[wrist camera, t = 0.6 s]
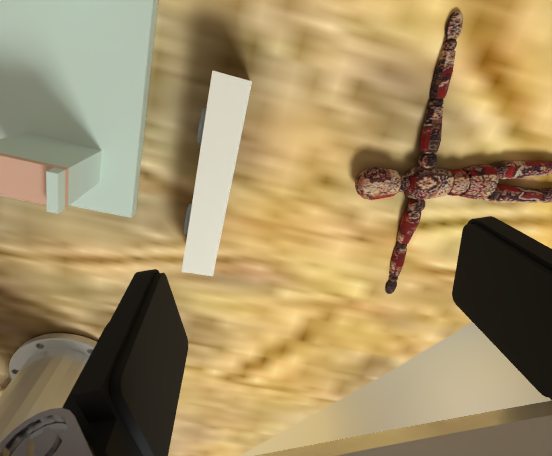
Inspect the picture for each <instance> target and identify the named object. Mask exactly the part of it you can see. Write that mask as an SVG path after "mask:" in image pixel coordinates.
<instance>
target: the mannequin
mask: <svg viewBox="0 0 552 456" xmlns="http://www.w3.org/2000/svg"><path fill="white" fill-rule="evenodd" d="M462 22H463V16H462V13H461V12H459V11H456V12H454V13H453V14H452V15H451V16H450V19H449V21H448V24H447V26H446V32H445V33H446V41H445V42H444V44H443V49H444V50H443V51H441V53H440V56H439V59H438V62H437V65H436V68H435V71H434V76H433V81H432V86H431V90H430V98H431V99H430V100H429V103H428V105H429V107H428V108H427V111H426V116H425V120H424V125H423V130H422V134H421V139H420V150H421V152H422V154H421V155H420V157H419V159H418V163H419V165H420V167H414V168H412V169H411V170H410V171H408V172H407V174H406V175H400V174H399V173H398V172H397V171H395V170H390V169H384V168H378V167H371V168H367V169H365V170H364V171H362V172H361V173H360V174H359V175H358V177H357V179H356V183H355V187H356V190H357V193H358V194H359V195H360V196H361V197H363V198H365V199H370V200H375V199H380V198H386V197H391V196H394V195H395V194H396V193H398V191H400V192H402V191H404V193H405V194H406V195H407V196H408V197H409V198H411V199H410V200H409V202H408V207H409V208H407V209H406V211H405V213H404V214H403V216H402V220H401V224H400V227H399V231H398V235H397V242H396V246H395V248H394V251H393V255H392V258H391V263H390V272H389V274H390V276H389V279H390V280H389V281H388V282H387V284H386V292H387V293H388V294H391V293H393V292H394V290H395V288H396V286H397V282H396V280H397V279H398V276H399V274H400V271H401V269H402V267H403V264H404V260H405V255H406V250H407V249H406V247H407V244H408V243H409V241H410V239H411V237H412V235H413V233H414V231H415V229H416V227H417V226H418V224H419V221H420V217H421V211H422V210H423V209H424V207H425V201H424V199H429V198H435V197H441V196H444V195H446V194H448V195H452V196H455V195H459V196H462V197H467V198H472V199H483V200H486V201H492V202H552V188H548V189H542V190H539V189H530V188H522V187H514V186H505V185H497V184H498V178H500V179H514V178H524V177H534V176H543V175H550V174H552V162H550V161H546V162H543V161H502V162H495V163H493V164H491V165H475V166H471V167H467V168H464V169H462V170H459V169H451V170H450V171H449V170H448V169H444V168H438V167H434V166H435V165H436V162H437V156H436V154H434V153H436V152H437V151H438V148H439V145H440V142H441V130H442V114H443V107H442V104H443V98H445V96H446V94H447V90H448V86H449V83H450V79H451V76H452V72H453V65H454V58H455V51H454V49H455V47H456V45H457V41H456V39H457V37H458V36H459V34H460V32H461V29H462Z"/></svg>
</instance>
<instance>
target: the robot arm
mask: <svg viewBox="0 0 552 456" xmlns="http://www.w3.org/2000/svg"><path fill="white" fill-rule="evenodd" d="M452 296H453V300H454V302H455V303H456V305H457V306H458V307H459V308H460V309H461V310H462V311H463V312H464V313H465V314H466V315H467V316H468V317H469V319H470V320H471V321H472V322H473V323H475V325H476V326H477V327H478V328H479V329H480V330H481V331H482V332H483V333H484V334H485V335H486V336H487V337H488V338H489V340H490V341H491V342H492V343H493V344H494V345H495V346H496V347H497V348H498V349H499V350H500V351H501V352H502V353H503V354H504V355H505V356H506V357H507V358H508V360H509V361H510V362H511V363H512V364H513V365H514V366H515V367H516V368H517V369H518V370H519V371H520V372H521V373H522V374H523V375H524V376H525V377H526V379H528V381H529V382H530V383H531V384H532V385H533V386H534V387H535V388H536V389H537V390H538V391H539V392H540V393H541V394H542V395H544V396H546V397H549V398H550V399H551V400H552V249H551V248H549V247H547V246H545V245H543V244H542V243H540V242H538V241H536V240H534V239H533V238H531V237H529V236H527V235H525V234H523V233H522V232H520V231H518V230H516V229H514V228H513V227H511V226H509V225H507V224H505V223H504V222H502V221H500V220H498V219H496V218H495V217H492V216H490V217H483V218H476V219H471V220H470V221H469V222H468V224H467V225H465V226H464V228H463V232H462V238H461V244H460V250H459V256H458V262H457V268H456V273H455V279H454V285H453V291H452ZM187 352H188V339H187V336H186V333H185V330H184V327H183V324H182V321H181V318H180V315H179V312H178V309H177V306H176V303H175V300H174V297H173V294H172V291H171V289H170V286H169V283H168V280H167V277H166V275H165V273H159V271H158V270H156V269H154V270H148V271H142V272H137V273H136V274H135V275H134V277H133V279H132V281H131V283H130V284H129V286H128V288H127V290H126V292H125V294H124V296H123V298H122V300H121V301H120V303H119V305H118V307H117V309H116V311H115V313H114V315H113V316H112V318H111V320H110V322H109V323H108V324H107V325H106V327H105V329H104V331H103V332H102V334H101V336H100V338H99V340H98V342H96V341H94V340H92V339H89V338H87V337H83V336H79V335H75V334H67V333H52V334H45V335H41V336H38V337H35V338H32V339H30V340H28V341H27V342H25V343H24V344H23V345H22V346H20V347H19V348H18V350H17V351H16V352H15V353H14V355H13V356H12V358H11V360H10V363H9V374H10V377H11V379H12V381H11V382H10V383H9V385H8V386H7V387H6V389H5V390H4V391H3V393H2V394H1V395H0V456H168V452H169V447H170V441H171V436H172V431H173V426H174V420H175V415H176V410H177V404H178V399H179V394H180V389H181V383H182V378H183V373H184V368H185V362H186V357H187ZM257 456H552V401H548V402H542V403H536V404H530V405H525V406H519V407H514V408H508V409H502V410H497V411H491V412H486V413H481V414H475V415H470V416H464V417H459V418H453V419H448V420H442V421H437V422H432V423H426V424H421V425H415V426H410V427H405V428H399V429H394V430H388V431H383V432H378V433H372V434H367V435H362V436H357V437H351V438H346V439H340V440H335V441H330V442H325V443H319V444H315V445H309V446H304V447H299V448H294V449H288V450H283V451H278V452H273V453H268V454H262V455H257Z"/></svg>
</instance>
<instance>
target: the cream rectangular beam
mask: <svg viewBox="0 0 552 456" xmlns="http://www.w3.org/2000/svg"><path fill="white" fill-rule="evenodd" d="M251 84H252V81H249V80H245V79H241V78H238V77H234V76H231V75H227V74H224V73H220V72H216V71H213V70H212V76H211V83H210V89H209V96H208V103H207V109H206V108H203V109H202V111H201V116H200V121H199V126H198V134H197V143H199V144H201V149H200V155H199V162H198V168H197V175H196V181H195V188H194V195H193V201H192V204H189V205H188V208H187V212H186V217H185V223H184V231H183V234H187V241H186V247H185V254H184V260H183V267H182V272H188V273H195V274H201V275H208V276H213V273H214V268H215V263H216V258H217V253H218V248H219V243H220V238H221V233H222V228H223V223H224V218H225V213H226V208H227V203H228V198H229V193H230V188H231V183H232V178H233V173H234V168H235V164H236V159H237V154H238V149H239V144H240V139H241V134H242V129H243V124H244V119H245V114H246V109H247V104H248V99H249V94H250V89H251Z"/></svg>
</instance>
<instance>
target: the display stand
mask: <svg viewBox="0 0 552 456" xmlns="http://www.w3.org/2000/svg"><path fill="white" fill-rule="evenodd" d="M157 7H158V0H0V196H4V197H9V198H14V199H19V200H24V201H29V202H34V203H40V204H45V205H47V212H51V213H57V214H58V213H60V212H61V211H62V210H64V209H65V208H66V207H68V206H69V205H70V206H75V207H80V208H85V209H90V210H95V211H100V212H105V213H110V214H115V215H120V216H125V217H130V218H131V217H132V216H133V215H134V214H135V212H136V206H137V196H138V187H139V177H140V168H141V158H142V149H143V139H144V130H145V120H146V111H147V101H148V92H149V83H150V73H151V64H152V54H153V45H154V35H155V26H156V16H157Z"/></svg>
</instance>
